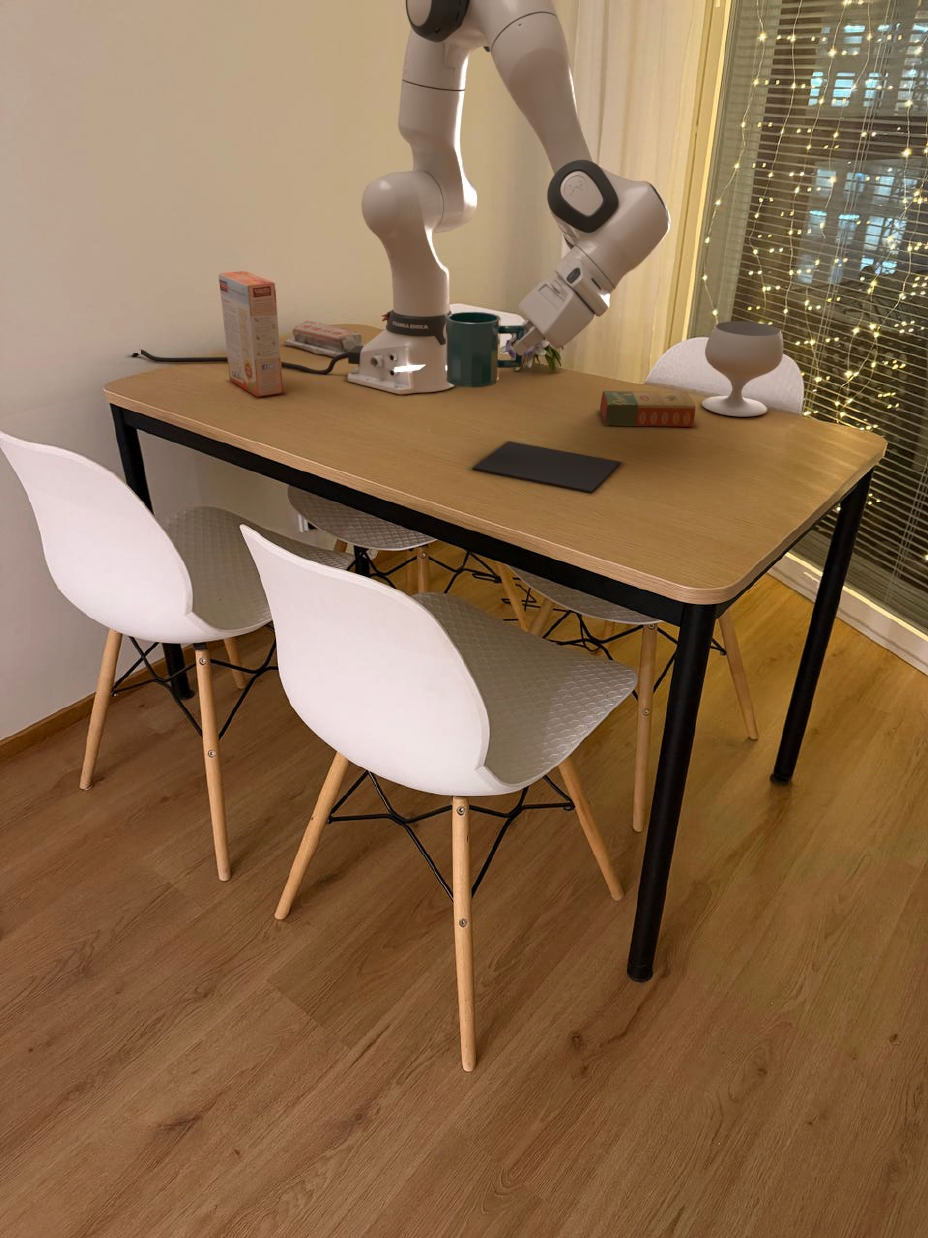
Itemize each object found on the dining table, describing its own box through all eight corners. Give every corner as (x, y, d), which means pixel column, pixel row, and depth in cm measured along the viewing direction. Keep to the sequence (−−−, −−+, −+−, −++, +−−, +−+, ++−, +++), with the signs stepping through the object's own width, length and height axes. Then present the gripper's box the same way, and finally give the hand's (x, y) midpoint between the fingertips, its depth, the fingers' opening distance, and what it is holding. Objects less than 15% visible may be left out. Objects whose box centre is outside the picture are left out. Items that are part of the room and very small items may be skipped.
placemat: (472, 469, 145) (472, 467, 144) (508, 443, 155) (508, 440, 155) (591, 493, 137) (591, 490, 137) (620, 463, 148) (620, 461, 148)
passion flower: (518, 395, 197) (487, 347, 194) (540, 374, 204) (511, 328, 201) (556, 374, 189) (525, 323, 186) (578, 353, 196) (548, 304, 193)
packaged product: (369, 329, 203) (336, 337, 197) (369, 351, 206) (337, 360, 199) (314, 316, 213) (281, 323, 206) (315, 337, 216) (283, 345, 209)
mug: (449, 388, 138) (449, 324, 134) (443, 373, 145) (443, 312, 141) (526, 385, 140) (529, 322, 135) (517, 371, 147) (519, 310, 142)
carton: (693, 428, 164) (696, 404, 162) (604, 426, 164) (606, 402, 162) (684, 413, 171) (688, 390, 169) (599, 411, 171) (601, 388, 169)
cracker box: (285, 393, 177) (276, 281, 167) (256, 398, 174) (245, 284, 164) (256, 376, 187) (246, 269, 176) (228, 380, 184) (216, 271, 173)
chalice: (727, 423, 166) (741, 340, 159) (682, 401, 177) (693, 322, 170) (787, 415, 171) (804, 334, 164) (740, 394, 182) (753, 317, 175)
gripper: (551, 255, 145) (489, 319, 148) (583, 279, 127) (512, 351, 131) (577, 284, 147) (515, 346, 151) (611, 311, 130) (541, 381, 134)
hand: (514, 349), depth 141 cm, fingers closed on mug
